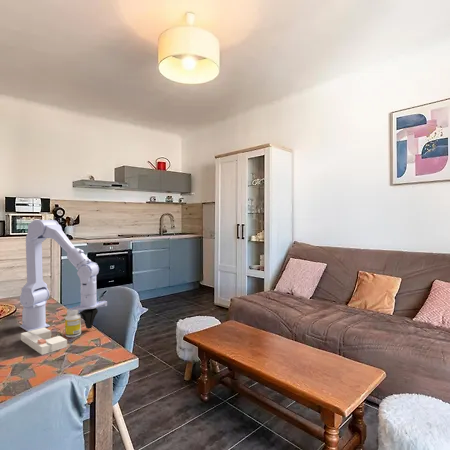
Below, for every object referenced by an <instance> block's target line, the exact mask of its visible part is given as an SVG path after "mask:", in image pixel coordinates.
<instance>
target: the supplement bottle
mask: <svg viewBox="0 0 450 450" xmlns="http://www.w3.org/2000/svg"><path fill="white" fill-rule="evenodd" d="M66 314H67V315H66V316H65V317H64V320H65V321H64V324H65V325H64V326H65V328H64V329H65V337H66V338H75V337H79V336H80V335H81V334H82V315H81V314H80V312H79V310H72V311H71V310H69V308H68V309H67V310H66Z"/></svg>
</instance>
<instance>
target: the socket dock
mask: <svg viewBox="0 0 450 450" xmlns="http://www.w3.org/2000/svg"><path fill="white" fill-rule="evenodd" d="M20 341H22V342H23V343H24V344H26V345H27V346H29V348H31V349H33V350H34V351H36V352H37V353H38V354H40V355H41V356H43V355H46V354H50V353H53V352H56V351H59V350H61V349H64V348H67V347H68V339H66V338H65V337H63V336H61V335H57V336H53V337H52V330H50V329H49V328H48V327H44V328H40V329H36V330H32V331H25V332H21V333H20Z"/></svg>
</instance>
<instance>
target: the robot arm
mask: <svg viewBox="0 0 450 450" xmlns="http://www.w3.org/2000/svg"><path fill="white" fill-rule="evenodd" d="M46 239H52V240H54V241H55V242H56V244H57V245H59V246H60V247H61V249H63V250H64V251H65V252H66V253H67V254H66V259H67V260H68V261H69V262H70V263H71V264H72V265H73V267H74V268H75V269H76V270H77V271H76V274H77V276H78V278H79V282H80V304H78V305H76V306H73V307H70V308H68V309H69V310H71V311H72V310H79V314H80V315H81V318H83V321H84V325H85V328H86V329H87V330H89V329H90V330H91V329H92V327H93V324H94V321H95V318H96V316H97V314H98V312H99V310H98V309H99V308H103V307H107V306H108V301H106V300H100V301H98V300H97V275H98V274H99V271H100V267H99V265H98V263H97V262H94V261H92V260H91V259H89V257H87V255H86V254H85V251H84V250H83V249H81V248H78V247H75V245H73V243H72V241H71V240H70V239H69V238H68V236H67V235H66V233H64V231H63V228H62V225H61V224H59V222H58V221H57V220H56V219H35V220H32V221H31V222H30V223H29V224H28V225H27V234H26V236H25V259H26V261H25V262H26V265H25V266H26V283H24V284H25V285H23V287H21V294H20V295H19V303H20V304H21V305H22V307H23V308H22V311H21V312H22V315H21V316H22V323H21V324H20V325H19V327H20V328H22V329H23V330H25V332H28V331H32V330H36V329H40V328H44V327H45V328H49V327H51V326H50V324H49V323H46V319H47V318H46V317H47V316H46V310H47V309H46V304H47V301H48V300H49V298H50V290H49V288H48V284H47V283H46V282H45V281H44V278H43V277H44V275H43V272H44V271H43V270H44V269H43V245H42V244H43V242H44V241H45V240H46Z"/></svg>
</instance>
